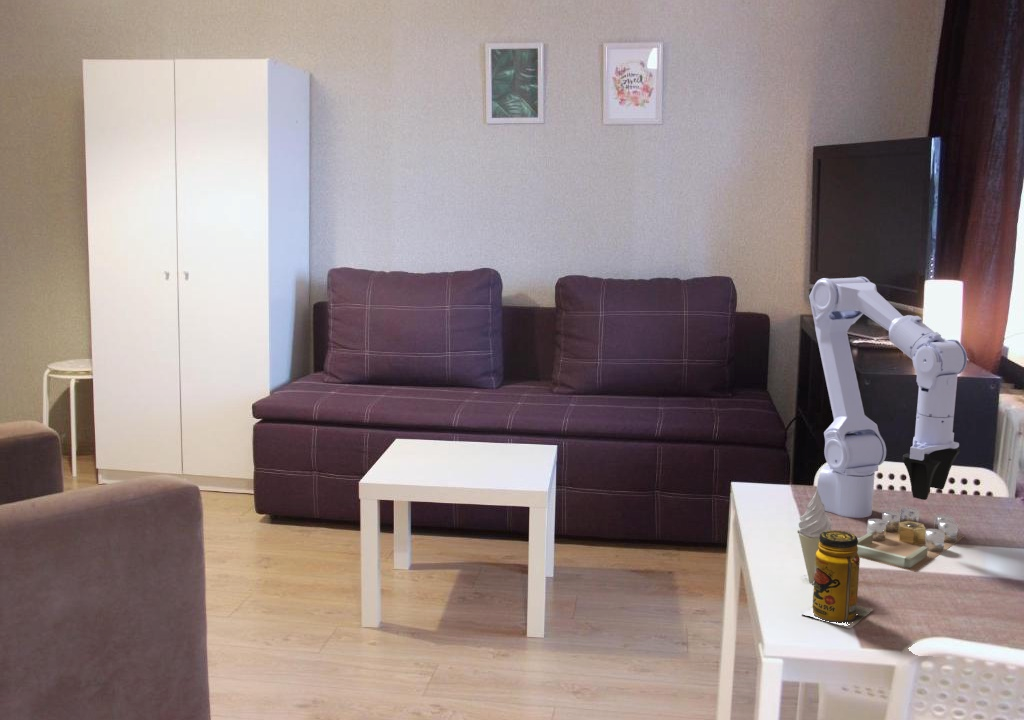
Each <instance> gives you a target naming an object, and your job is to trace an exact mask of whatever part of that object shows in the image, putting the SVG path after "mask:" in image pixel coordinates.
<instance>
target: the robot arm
mask: <svg viewBox="0 0 1024 720" xmlns="http://www.w3.org/2000/svg"><path fill="white" fill-rule="evenodd" d="M808 297H809V303H810V308H811V313H812V317H813V322H814V323H813V324H814V329H815V334H816V340H817V343H818V348H819V349H818V350H819V353H820V358H821V364H822V368H823V374H824V378H825V383H826V387H827V392H828V397H829V398H828V399H829V404H830V407H831V408H830V409H831V411H832V417H833V421H832V423H831V424H830V425H829V426H828V427H827V428H826V429H825V430H824V432H823V436H824V449H823V450H824V451H823V452H824V453H823V454H824V458H825V461H826V463H827V465H825V466H823V467H822V468H821V470H820V472H819V474H818V478H817V484H816V490H818V493H819V496H820V498H821V501H822V503H823V505H824V507H825V509H824V510H825V512H829V513H832V514H835V515H838V516H841V517H846V518H854V519H855V518H856V519H858V518H859V519H861V518H862V519H863V518H866V517H870V516H871V515H872V513H873V501H874V487H875V486H874V485H875V476H876V475H875V473H876V472H878V471H879V466H881V465H882V464H883V463H884V461H885V459H886V456H887V447H886V443H885V442H886V441H885V440H884V439H883V437H882V435H881V433H880V431H879V430H880V429H879V428H878V424H877V422H876V423H875V422H874V421H873V420H872V419H870V418H869V417H868V416H867V415H866V414H865V411H864V406H863V401H862V397H861V392H860V388H859V381H858V378H857V373H856V370H855V364H854V359H853V355H852V351H851V346H850V340H849V336H848V331H849V329H850V327H851V326H852V325H854V324H855V323H856V322H857V321H859V319H860V318H861V317H862V316H863V315H865V316H866V317H868V318H869V319H870V320H872V321H873V322H875V323H876V324H877V325H879V326H880V327H882V328H883V329H885V330H886V331H888V340H889V341H890V342H891V343H892V345H894V346H895V347H896V348H898V349H899V350H900V351H901V352H902V353H904V355H906V356H907V357H908V358H910V359H911V360H912V365H913V369H914V371H915V373H916V383H917V386H918V393H917V405H916V406H917V407H916V415H915V418H916V419H915V428H914V436H913V439H912V446H910V450H909V452H907V453H904V454H902V463H903V464H904V467H905V468H906V470H907V473H908V476H909V481H910V487H911V488H910V489H911V493H912V497H913V499H918V500H922V501H926V500H927V499H928V498H929V495H930V492H931V488H932V489H938V490H943V489H944V488H945V486H946V484H947V483H946V482H947V480H948V476H949V474H950V471H951V469H952V466H953V464H954V461H955V460H956V458H957V456H958V455H960V452H961V448H960V443H959V442H957V441H954V440H955V439H954V438H955V432H953V430H954V421H955V419H954V418H955V407H956V397H957V388H958V387H957V386H958V385H957V384H958V376H959V374H961V373H962V372H964V370H965V369H966V367H967V365H968V354H967V351H966V349H965V348H964V346H963V345H962V344H961V342H960V341H959V340H958V339H946V338H943V337H942V335H941V333H939V332H938V331H936V332H935V331H934V330H932V328H930V327H929V326H928V325H926V324H925V323H923V318H921V316H919V315H911V314H907V315H902V314H901V312H899V311H898V310H897V309H896V308H895V307H894V306H893V305H892V304H891V303H890V302H889V301H888V300H886V299H885V298H884V296H882V295H881V294H880V293H879V292H878V290H877V285H876V284H875V283H873V282H871V281H870V279H868V278H867V277H866V276H856V277H844V278H843V277H840V278H839V277H838V278H828V277H823V278H820V279H818V280H817V281H816V282H815V284H813V287H812V289H811V291H810V294H809V295H808ZM847 434H849V435H847Z"/></svg>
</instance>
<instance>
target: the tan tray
mask: <svg viewBox="0 0 1024 720" xmlns="http://www.w3.org/2000/svg"><path fill="white" fill-rule="evenodd" d="M925 528H926V529H932V528H931V527H925ZM872 537H873V534H870V533H867V532H866V534H864V535H862V536H861V537H859V538H857V539H858V544H857V547H858V551H857V553H858V555H859V558H860V559H864V560H867V561H872V562H874V563H879V564H884V565H886V566H890V567H894V568H895V567H896V568H899V569H902V570H907V571H910V572H914V573H916V572H917V571H919V570H920V569H921V568H923V567H925V566H926V565H927V564H928V563H930V562H931V561H932V560H934V559H935V558H937V557H938V556H940V555H941V554H942V553H944V552H946V551H947V550H949V549H950V548H951V547H953V546H954V545H955V544H957V543H958V542H959V541H961V540H963V538H965V537H966V535H961V534H957V541H956V542H955V543H945V542H944V550H943V552H930V551H927V550H928V547H924V543H918V544H910V543H906V542H902V541H899V539H898V532H895V533H892V532H886V537H885V540H884V541H872Z"/></svg>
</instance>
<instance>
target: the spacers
mask: <svg viewBox="0 0 1024 720" xmlns="http://www.w3.org/2000/svg"><path fill="white" fill-rule="evenodd" d="M881 512H882V513H881V518H868V520H867V527H866V534H867V533H870V534H873V537H872V541H884V540H885V537H886V532H892V533H895V532H898V523H899V522H906V521H912V522H916V523H919V519H920V518H919V517H920V509H919V508H916V507H912V506H903V507H901V508H900V512H898V511H896V510H889V509H888V510H882V511H881ZM958 528H959V523H958V522H956V521H955V517H954V516H952V515H949V514H945V513H944V514H943V513H940V514H938V513H937V514H936V515H935V516H934V527H933V528H931V529H926V530H925V542H924V547H928V550H927V551H930V552H942V553H944V552H943V550H944V542H945V543H955V542H956V541H957V535H958V530H959V529H958ZM955 544H956V543H955Z"/></svg>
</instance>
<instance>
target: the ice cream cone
mask: <svg viewBox="0 0 1024 720" xmlns="http://www.w3.org/2000/svg"><path fill="white" fill-rule="evenodd" d="M806 507H807V509H806V511H805V512H804V513H803V515H801V516H800V517H799V523H798V528H799V529H797V534H798V537H799V543H800V547H801V551H802V555H803V560H804V564H805V568H806V573H807V577H808V582H809V584H814V574H815V557H816V552H817V551H818V549H819V547H818V544H819V542H820V541H819V540H820V539H819V537H820V534H821V533H822V532H825V531H831V530H832V522H831V517H830V516H829V515H827V513H826V511H825V510H824V509H825V507H824V505H823V503H822V501H821V498H820V496H819V493H818V490H817V489H816V490H815V493H814V495H813V497H812V499H810V501H809V503H808V504H807V506H806Z"/></svg>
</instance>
